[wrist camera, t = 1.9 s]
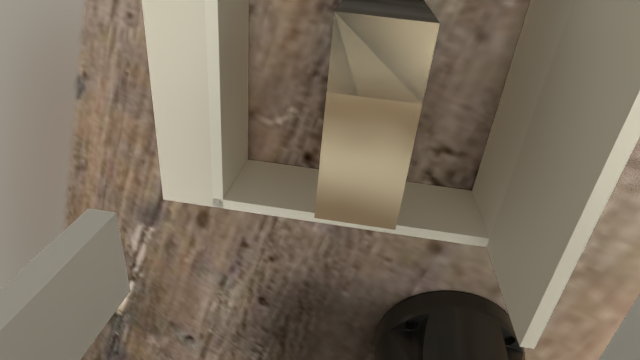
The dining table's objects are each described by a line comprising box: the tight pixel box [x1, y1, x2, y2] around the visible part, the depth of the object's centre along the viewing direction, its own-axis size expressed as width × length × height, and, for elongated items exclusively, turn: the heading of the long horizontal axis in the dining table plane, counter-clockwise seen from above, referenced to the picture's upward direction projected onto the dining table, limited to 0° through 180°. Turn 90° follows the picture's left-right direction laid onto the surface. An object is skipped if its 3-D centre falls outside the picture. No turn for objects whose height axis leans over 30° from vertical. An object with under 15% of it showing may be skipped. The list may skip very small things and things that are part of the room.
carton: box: [142, 0, 640, 349], centre depth 27 cm, size 20×26×16 cm
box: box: [314, 0, 440, 230], centre depth 29 cm, size 12×5×12 cm, turn 175°
